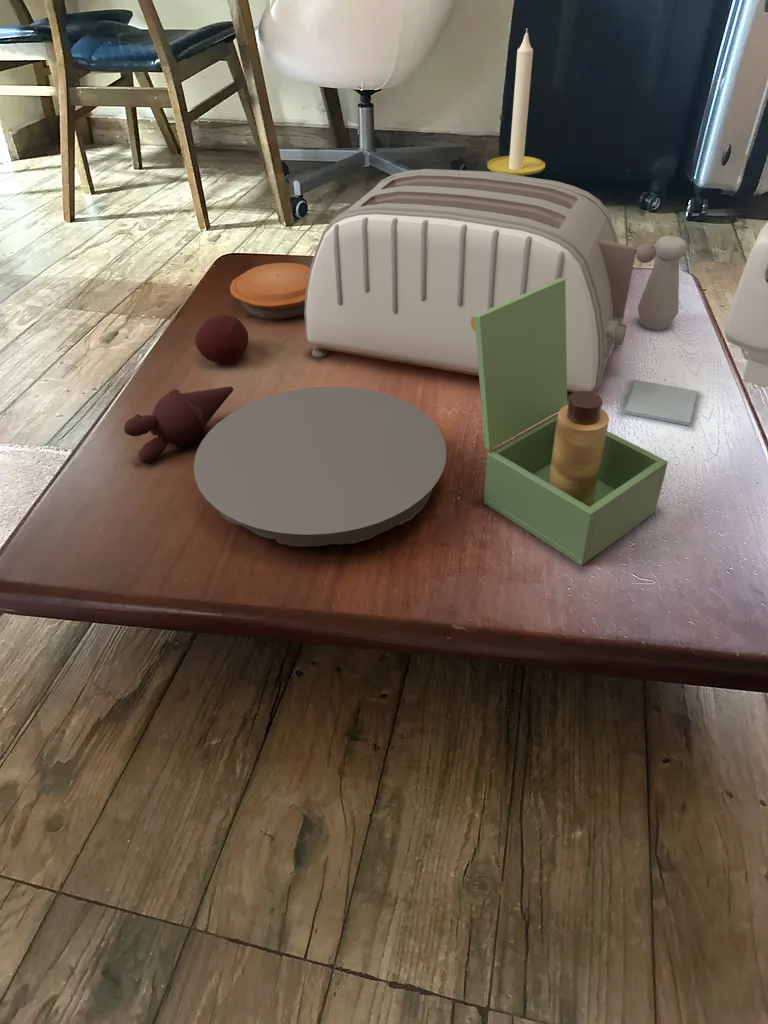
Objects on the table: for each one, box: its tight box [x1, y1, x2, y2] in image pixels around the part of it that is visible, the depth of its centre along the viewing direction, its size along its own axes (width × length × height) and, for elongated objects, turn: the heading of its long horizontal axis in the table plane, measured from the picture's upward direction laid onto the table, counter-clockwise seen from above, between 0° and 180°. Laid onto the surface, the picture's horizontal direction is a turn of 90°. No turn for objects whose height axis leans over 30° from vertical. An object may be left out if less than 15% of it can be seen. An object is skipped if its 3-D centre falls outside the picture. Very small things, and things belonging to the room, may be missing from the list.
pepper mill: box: [548, 391, 610, 507], centre depth 81 cm, size 5×5×13 cm
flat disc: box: [193, 386, 447, 548], centre depth 88 cm, size 28×28×4 cm
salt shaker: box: [637, 235, 688, 331], centre depth 114 cm, size 6×6×13 cm
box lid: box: [471, 278, 568, 451], centre depth 82 cm, size 14×13×5 cm
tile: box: [623, 379, 699, 427], centre depth 101 cm, size 8×8×1 cm
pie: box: [229, 262, 311, 321], centre depth 125 cm, size 15×16×5 cm
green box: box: [483, 412, 669, 567], centre depth 83 cm, size 14×13×7 cm
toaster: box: [304, 168, 656, 393], centre depth 106 cm, size 21×45×22 cm, turn 68°
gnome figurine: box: [123, 386, 234, 464], centre depth 96 cm, size 7×7×15 cm
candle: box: [486, 28, 546, 177], centre depth 115 cm, size 10×10×38 cm
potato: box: [194, 313, 249, 364], centre depth 112 cm, size 8×9×6 cm
